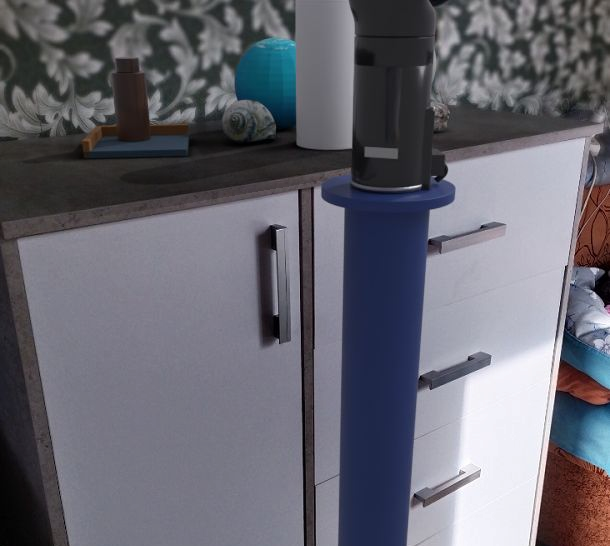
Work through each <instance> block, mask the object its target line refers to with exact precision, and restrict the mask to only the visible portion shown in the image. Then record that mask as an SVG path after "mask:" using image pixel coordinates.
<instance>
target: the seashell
mask: <svg viewBox="0 0 610 546" xmlns="http://www.w3.org/2000/svg"><path fill="white" fill-rule="evenodd" d="M221 128H222V131H223V134H224V136H225V137H226V139H227V140H229V141H230V142H232V143H234V144H238V145H243V144H248V143H253V142H259V141H264V140H272V141H276V137H277V135H276V130H277V129H276V124H275V122H274V119H273V117H272V115H271V114H270V112H269V111H268V110H267V108H266V107H264V106H263V105H262V104H260V103H259V102H256V101H252V100H241V101H238V100H237V101H235V102H233V103H231V104H230V105H229V106H228V107H227V108H226V109H225V111H224V113H223V115H222V118H221Z"/></svg>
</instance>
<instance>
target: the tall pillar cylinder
mask: <svg viewBox="0 0 610 546" xmlns="http://www.w3.org/2000/svg"><path fill="white" fill-rule="evenodd" d="M294 4H295V14H294V16H295V42H296V125H295V129H296V130H295V132H296V133H295V135H296V139H295V140H296V145H297V146H298V147H300V148H304V149H309V150H319V151H320V150H321V151H337V150H338V151H339V150H340V151H341V150H350V149H351V150H352V122H353V79H354V37H355V36H356V35H355V25H354V18H353V15H352V12H351V9H350V5H349V0H294Z"/></svg>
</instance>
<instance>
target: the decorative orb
mask: <svg viewBox="0 0 610 546" xmlns="http://www.w3.org/2000/svg"><path fill="white" fill-rule="evenodd" d="M233 85H234V93H235V97H236V100H237V101H241V100H252V101H256V102H259V103H260V104H262V105H263V106H264V107H266V108H267V110H268V111H269V112H270V114H271V115H272V117H273V119H274V122H275V124H276V130H285V129H289V128H292V127H296V41H294V40H292V39H288V38H285V37H269V38H266V39H265V38H264V39H261V40H260V41H257V42H255V43H254V44H253V45H252V46H250V47H249V48H248V49H247V50H246V52H244V54H243V55H242V56H241V58H240V60H239V62H238V64H237V67H236V69H235V74H234V84H233Z"/></svg>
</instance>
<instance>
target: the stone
mask: <svg viewBox="0 0 610 546" xmlns="http://www.w3.org/2000/svg"><path fill="white" fill-rule="evenodd" d="M431 107H433V108H434V109H435V121H434V133H438V132H442V131H444V130H446V129H447V126H448V122H449V121H448V120H449V119H450V115H451V114H450V110H449V108H448V106H447V105H446V104H445V103H442V102H438V101H431Z"/></svg>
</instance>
